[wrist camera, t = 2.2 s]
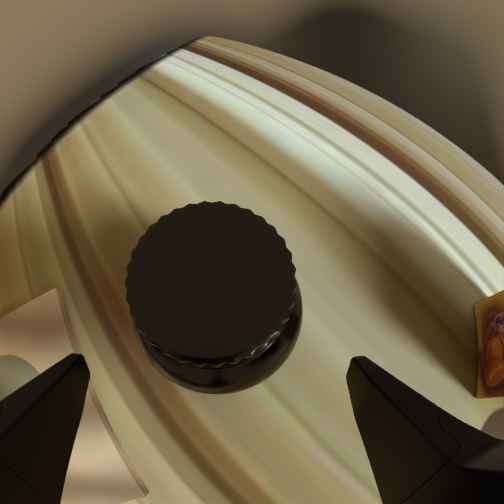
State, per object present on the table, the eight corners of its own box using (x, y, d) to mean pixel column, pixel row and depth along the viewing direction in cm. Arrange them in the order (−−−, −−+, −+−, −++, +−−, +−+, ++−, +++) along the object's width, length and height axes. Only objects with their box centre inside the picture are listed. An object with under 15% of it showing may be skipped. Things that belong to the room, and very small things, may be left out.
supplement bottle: (151, 321, 19) (60, 245, 8) (232, 266, 21) (236, 140, 10) (211, 406, 17) (179, 452, 6) (295, 344, 19) (380, 294, 8)
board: (149, 491, 13) (145, 497, 12) (14, 510, 9) (7, 512, 8) (61, 291, 19) (54, 286, 18) (-45, 351, 15) (-52, 349, 14)
